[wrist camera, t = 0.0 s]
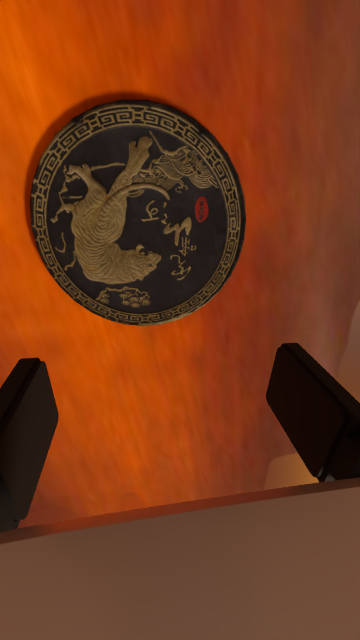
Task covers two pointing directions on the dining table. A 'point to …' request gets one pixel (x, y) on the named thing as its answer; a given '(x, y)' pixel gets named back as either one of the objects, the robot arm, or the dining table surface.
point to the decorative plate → (137, 212)
